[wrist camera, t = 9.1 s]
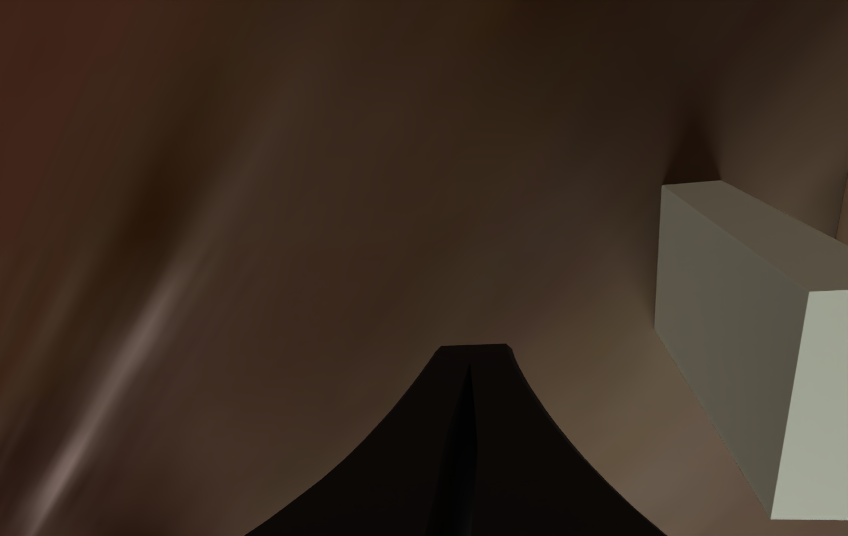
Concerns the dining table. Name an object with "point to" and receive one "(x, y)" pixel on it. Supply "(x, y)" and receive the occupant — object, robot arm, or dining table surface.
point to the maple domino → (843, 219)
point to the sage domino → (760, 340)
